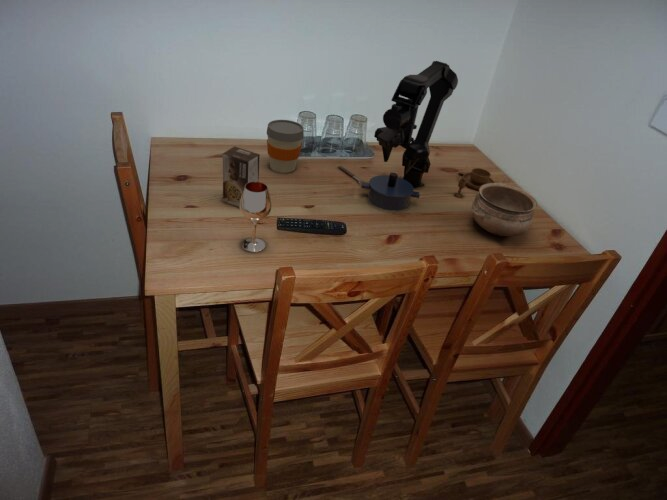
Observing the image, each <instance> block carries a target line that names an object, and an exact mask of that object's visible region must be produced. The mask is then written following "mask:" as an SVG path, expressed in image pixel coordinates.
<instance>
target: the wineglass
mask: <svg viewBox="0 0 667 500" xmlns="http://www.w3.org/2000/svg"><path fill="white" fill-rule="evenodd" d="M238 208H239V211H240V213H241V214H242V215H243V216H244V217H245V218H246V219H247V220H249V221H250V222H252V237H250V238H245V239H243V240H242V242H241V247H242V249H243V250H244V251H246V252H249V253H259V252H262V251H263V250H265V248H266V243H265V241H264V240H262V239H260V238H257V237H256V233H257V223H258V222H260V221H262V220H264V219H266V218H267V217H268V216H269V214H270V213H271V210H272V200H271V195H270V191H269V187H268V185H267V184H266V183H264V182H261V181H259V182H249V183H247V184H246V185H245V187H244V190H243V193H242V196H241V199H240V204H239V207H238Z"/></svg>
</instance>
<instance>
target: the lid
mask: <svg viewBox="0 0 667 500" xmlns="http://www.w3.org/2000/svg"><path fill="white" fill-rule="evenodd" d="M368 183H369V186H370V187H371V189H372V190H374V191H375V192H377V193H379V194H381V195H383V196H387V197H392V198H404V197H408V196H410V195H411V194H412V193H413V191H415V190H414V189H415V188H413V186H412V185H411V184H410V183H409V182H408V181H406V180H404V179H403V177H400V176H399V175H398V173H396V172H390V173H389V174H379V175H375V176H373V177H371V178H370V179H369V181H368Z"/></svg>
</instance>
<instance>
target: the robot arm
mask: <svg viewBox="0 0 667 500" xmlns="http://www.w3.org/2000/svg"><path fill="white" fill-rule="evenodd" d="M458 83H459V79H458V75H457V73H456V72H455V71H454V70H453V69H451V67H450V65H449V64H448V63H446V62H442V61H439V60H433V61H432V62H431V64H430V65H429V66H428V67H426V68H425V69H423V70H422V71H420V72H419V73H418V74H408V75H405V76H403V78H402V79H401V80H400V81H399V83H398V85H397V87H396V89H395V91H394V94H393V95H392V97H391V100H390V101H391V102H394V103H393V104H391V107H390V108H389V109H386V110H385V112H384V114H383V115H382V122H383V124H384V126H383V127H382V126H381V127H377V128H376V129H375V130H374V135H373V137H374V138H375V139H376V141H377V142H378V146H380V147H381V150H382V156H383V162H384V163H387V162H388V161H389V158H390V156H391V154H392V151H393V148H394V149H397V148H398V147H402V148H403V149H405V150H403V153H402V157H401V160H402V161H401V166H402V167H404V168H403V177H402V179H404V180H406V181H408V182H409V183H410V184H411V185H412V186H413V188H414V189H416V188H420V187H424V185H425V183H423V182H422V180H423V175H424V174H428V173H429V170H430V168H431V164H432V163H431V161H430V158H429V156H430V153H431V150H430V146H429V143H430V140H431V137H432V134H433V132H434V129H435V126H436V124H437V122H438V119H439V116H440V114H441V110H442V108H443V105H444V103H445V101H446V100H448V99H449V98H450V97H451V96H452V95H453V92H454V91H455V90H456V88H457V86H458ZM428 91H429V95H430V97H429V100H428V103H427V106H426V108H425V111H424V114H423V116H422V120H421V122H420V125H419V128H417V127H418V125H417V124H415V123H416V119H417V116H418V112H419V111H418V110H419V106H421V105H422V103H423V101H424V99H425V97H426V96H427V93H428ZM417 129H418V131H417V133H416V136H415V138H414V137H413V133H414V130H417Z"/></svg>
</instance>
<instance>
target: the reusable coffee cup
mask: <svg viewBox="0 0 667 500" xmlns="http://www.w3.org/2000/svg"><path fill="white" fill-rule="evenodd" d="M304 129H305V128H304V126H303V125H302V124H301V123H299V122H296V121H294V120H289V119H274V120H271V121H269V122H268V123H267V128H266V135H267V139H266V148H267V155H268V158H269V160H268V161H269V168H270V169H271V170H272V171H273V172H276V173H281V174H288V173H292V172H294V171H295V170H296V167H297V162H298V159H299V158H300V156H301V152H302V151H301V150H302V146H303V139H304V137H305V136H304V135H305V134H304V133H305V130H304Z"/></svg>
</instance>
